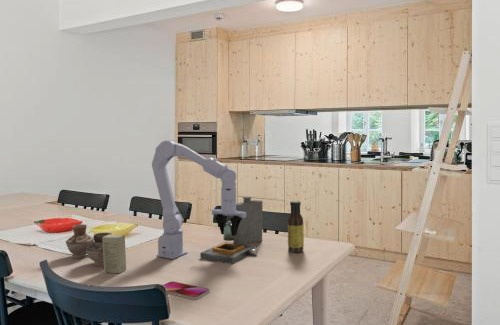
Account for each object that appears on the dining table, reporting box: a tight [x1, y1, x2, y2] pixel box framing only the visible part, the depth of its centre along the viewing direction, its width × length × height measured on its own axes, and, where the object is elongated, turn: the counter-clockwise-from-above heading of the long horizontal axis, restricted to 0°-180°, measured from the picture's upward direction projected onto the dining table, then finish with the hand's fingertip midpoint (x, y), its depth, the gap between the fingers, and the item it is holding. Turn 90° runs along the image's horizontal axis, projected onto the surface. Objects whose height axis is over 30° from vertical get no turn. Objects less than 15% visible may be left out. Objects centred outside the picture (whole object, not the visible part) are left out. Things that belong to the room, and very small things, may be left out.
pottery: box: [65, 223, 113, 267], centre depth 149 cm, size 11×25×12 cm, turn 55°
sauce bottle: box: [287, 200, 305, 253], centre depth 161 cm, size 6×6×20 cm
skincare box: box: [102, 233, 127, 274], centre depth 137 cm, size 6×4×12 cm
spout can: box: [222, 220, 235, 242], centre depth 157 cm, size 4×4×7 cm
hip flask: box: [232, 195, 263, 245], centre depth 174 cm, size 16×4×20 cm, turn 133°
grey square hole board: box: [200, 241, 258, 264], centre depth 156 cm, size 18×17×3 cm
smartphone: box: [162, 281, 210, 300], centre depth 120 cm, size 7×1×15 cm
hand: (228, 234), depth 156 cm, fingers closed on spout can, 4 cm apart
